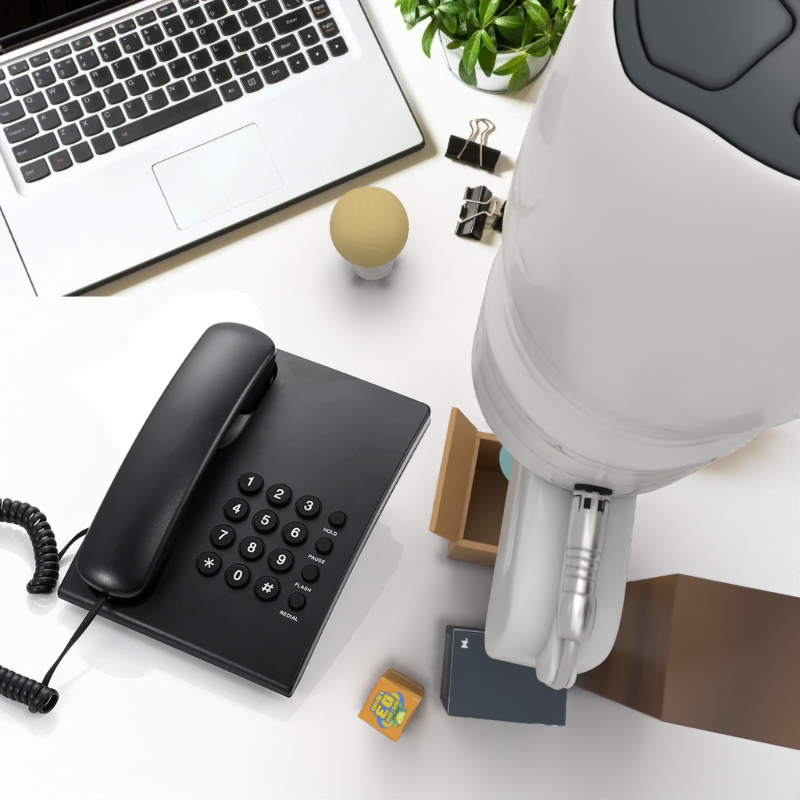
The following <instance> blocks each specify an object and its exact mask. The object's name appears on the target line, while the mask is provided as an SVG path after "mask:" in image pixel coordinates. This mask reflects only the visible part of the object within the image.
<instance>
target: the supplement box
mask: <svg viewBox="0 0 800 800" xmlns="http://www.w3.org/2000/svg"><path fill="white" fill-rule="evenodd" d="M424 694H425V687H424V686H423V685H422V684H420V683H418V682H417V681H415V680H414V679H411V678H410V677H408V676H406V674H403V673H401V672H399V671H398V670H396V669H395V668H392V667H389V668H388V670H387V671H386V672H385V673H384V674H382V676H380V678H379V679H378V680H377V682H376V684H375V686H374V687H373V689H372V691H371V692H370V694H369V696H368V697H367V699H366V701H365V703H364V704H363V705H362V708H361V709H360V711H359V713H358V715H357V717H358V718H359V719H360V720H361V721H363V722H365V723H366V724H367V725H369V726H371V727H372V728H373V729H375V730H376V731H378V732H379V733H380V734H382V735H384V736H385V737H387V738H388V739H389V740H391V741H393V742H394V743H396V742H399V740H400V738H401V737H402V735H403V733H404V731H405V729H406V727H407V725H408V724H409V722H410V720H411V719H412V717H413V716H414V714H415V713H416V711H417V709H418V707H419V706H420V704H421V702H422V701H423V699H424Z"/></svg>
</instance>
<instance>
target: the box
mask: <svg viewBox="0 0 800 800" xmlns="http://www.w3.org/2000/svg"><path fill="white" fill-rule="evenodd" d="M444 631H445V634H444V643H443V644H444V645H443V657H442V668H441V669H442V670H441V682H440V691H439V699H440V702H441V704H442V706H443V708H444V711H445V713H446V715H447V716H449V717H455V718H466V719H467V718H469V719H476V720H488V721H496V722H497V721H499V722H507V723H516V724H526V725H537V726H545V727H546V726H548V727H557V728H565V727H566V723H567V703H568V702H567V700H568V688H562V689H559V690H556V689H553V688H551V687H549V686H547V685H546V684H545V683H543V682H541V681H539V680H538V678H537V675H536V668H533V667H528V666H524V665H519V664H515V663H511V662H506V661H502V660H498V659H493V658H491V657H489V656H488V655H487V653H486V650H485V627H476V626H475V627H474V626H463V625H462V626H461V625H452V624H446V626H445V630H444Z"/></svg>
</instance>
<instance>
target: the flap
mask: <svg viewBox="0 0 800 800" xmlns="http://www.w3.org/2000/svg"><path fill="white" fill-rule="evenodd" d="M469 419H470V418H468V417H467V416H466V415H465V414H464V413H463V412H462V411H461V410H460V409H459V408H458V406H457V407H455V406H452V407H451V410H450V414H449V420H448V427H447V432H446V436H445V442H444V447H443V452H442V457H441V463H440V468H439V474H438V479H437V484H436V489H435V494H434V495H435V496H434V501H433V506H432V509H431V510H432V511H431V517H430V521H429V527H428V531H429V532H430V533H433V534H434V535H436V536H438V537H440V538H442V539H443V540H446V541H448V543H449V542H451V543H456V544H457V541H458V536H459V530H460V525H461V519H462V513H463V508H464V502H465V496H466V491H467V485H468V479H469V474H470V468H471V462H472V457H473V451H474V446H475V440H476V434H477V431H478V428H477V427H476V425H475V424H474V423H473V422H472V421H470V420H469Z"/></svg>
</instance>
